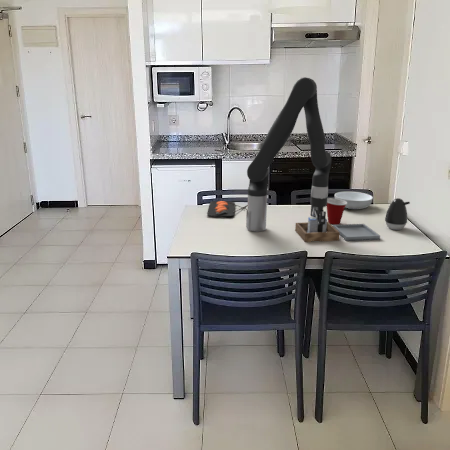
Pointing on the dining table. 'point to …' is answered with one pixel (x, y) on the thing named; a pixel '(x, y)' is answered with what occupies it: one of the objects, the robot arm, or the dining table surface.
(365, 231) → the grey tray
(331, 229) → the walnut holder
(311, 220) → the medicine box
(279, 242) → the dining table surface
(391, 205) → the pump dispenser
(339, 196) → the serving bowl
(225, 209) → the sushi plate
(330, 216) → the plastic cup
